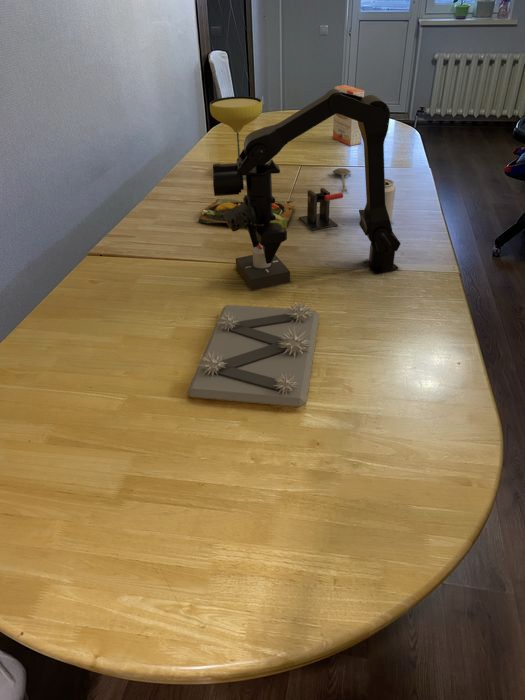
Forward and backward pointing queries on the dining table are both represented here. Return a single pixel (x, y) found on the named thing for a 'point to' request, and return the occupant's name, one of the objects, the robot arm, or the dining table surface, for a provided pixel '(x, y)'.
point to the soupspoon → (342, 172)
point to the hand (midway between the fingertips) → (261, 255)
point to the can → (389, 196)
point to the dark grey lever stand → (314, 219)
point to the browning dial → (259, 257)
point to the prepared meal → (222, 205)
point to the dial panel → (262, 273)
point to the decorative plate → (258, 356)
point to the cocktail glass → (236, 112)
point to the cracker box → (347, 121)
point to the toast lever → (328, 197)
